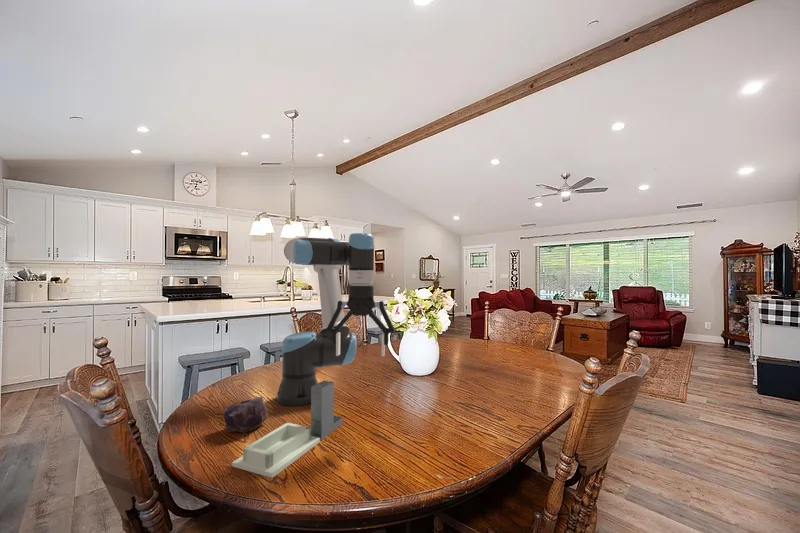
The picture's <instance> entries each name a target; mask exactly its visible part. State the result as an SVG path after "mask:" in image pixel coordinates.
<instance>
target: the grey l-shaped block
mask: <svg viewBox="0 0 800 533" xmlns="http://www.w3.org/2000/svg"><path fill="white" fill-rule="evenodd" d="M334 405H335V382H334V381H329V380H322V381H320V382H318V384H316V385H314V386H312V387H311V403H310V427H311V436H313V437H318V438H320V441H321V440H323V439H325V438H326V437H327V436H329V435H330V434H331V433H332V432H334V431H335V430H336V429H338V428H339V427H341V426H342V425H343V424H344V423H343V422H344V418H343V416H339V415H335V413H334V412H335V411H334V410H335V406H334Z"/></svg>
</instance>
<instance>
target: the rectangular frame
mask: <svg viewBox="0 0 800 533" xmlns="http://www.w3.org/2000/svg"><path fill="white" fill-rule="evenodd" d="M320 442H321V440H320V438H318V437H313V436H311V426H305V425H302V424H301V425H300V424H295V423H292V422H286V423H283V424H282V425H280V426H279V427H277V428H275V429H274V430H272V431H270V432H269V433H267V434H265V435H264V436H262V437H260V438H259V439H257V440H256V441H253V442H252V443H250V444H248V445H247V446H245V447H243V449H242V450H243V451H242V452H243V454H242V456H240V457H239V458H237V459H236V460H233V461H232V463H231V467H234V468H235V469H239V470H240V469H241V470H242V471H243V470H244V471H247V472H250V473H253V474H258V475H260V476H264V477H266V478H271V479H273V478H274V477H276V476H277V475H279V473H281V472H282V471H284V470H285V469H287V467H289V466H290V465H291V464H293V463H294V462H296V461H297V460H298V459H299V458H301V457H302V456H303V455H304V454H306V453H307V452H309V450H311V449H313V448H314V447H315V446H317V444H319V443H320Z"/></svg>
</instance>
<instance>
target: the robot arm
mask: <svg viewBox="0 0 800 533" xmlns="http://www.w3.org/2000/svg"><path fill="white" fill-rule="evenodd" d="M374 238H375V237H374V236H373V234H371V233H365V232H361V233H360V232H357V233H356V232H355V233H350V234H349V237H348V241H341V240H339V239H338V238H337V239H336V238H331V237H328V238H325V237H307V236H305V237H298V238H294V239H291V240H288V242H286V244H285V245H284V248H283V254H284V256H285V259H286V260H288V261H289V262H290V263H292V264H295V265H302V266H312V267H313V271H314V272H315V273H316V274H317V277H318V279H317V280H318V289H319V299H320V309H321V310H320V313H321V321H322V322H321V323H322V327H321V329H319V331H318V332H319V335H317V333H316V332H315V331H313V330H311V331H310V330H309V331H301V332H296V333H293V334H289V335H288V336H286V337H284V339H283V340H282V347H281V348H282V349H281V352H282V363H281V364H282V367H281V368H282V371H281V373H282V374H281V381H280V384H279V386H278V390H277V392H276V402H277V403H278V404H280V405H283V406H288V407H289V406H291V407H294V406H298V407H299V406H304V405H309V404H310V405H311V387H312V386H314V385H316V384H318V383H319V382H318V379H317V377H316V376H317V372H316V368H326V367H334V366H335V367H336V366H343V365H350V364H351V363H352V362H353V361H354V359H355V357H356V353H357V336H356V333H355V332H351V329H350V326H348V325H347V324H346V322H347V321H348V320H349V319H350V318H351V317H352V316H356V317H360V316H362V317H366V316H369V318H371V319H372V320H373V321H374V323H375V324H376V325H377V326H378V328H379V329H380V330H381V331H382V333H381V350H380V351H381V354H380V356H381V357H385V356H386V354H385V352H386V350H385V348H386V347H385V346H387V345H388V344H389V334H391V333H394V332H395V327H394V325H393V323H392V320H391V319H390V316H389V314H388V313H387V310H386V308H385V301H384V300H380V301H375V300H374V299H375V298H374V296H375V295H374V289H375V288H374V287H375V286H374V285H373V284H374V282H375V280H374V278H375V277H374V276H375V275H374V272H375V267H374V266H375V264H374V262H375V241H374V240H375V239H374ZM342 266H348V284H349V286H348V298H347V301H345V300H343V297H342V289H341V288H342V287H341V282H340V281H341V280H340V274H339V272H340V270H341V269H342ZM375 306H376V308H377V309H379V311H380V313H381V315H382V317H383V319H384V322H385V323H386V325H387V326H386V325H385V324H384V323H383V321H381V319H380V318H379V317H378V315H376V313H375V311H374V310H373V309H374V307H375ZM345 307H347V308H348V309H349V311H348V312H347V313H346V315H345V313H344V308H345Z"/></svg>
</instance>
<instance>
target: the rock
mask: <svg viewBox="0 0 800 533" xmlns="http://www.w3.org/2000/svg"><path fill="white" fill-rule="evenodd" d="M268 413H269V411H268V409H267V405H266V404H265V401H264V399H263V396H258V397H254V398H252V399H245V400H242V401H239V403H234V404H232V406H228V407H225V408H224V410H223V419H224V422H225V430H226V432H228V433H232V432H233V433H235V432H239V433H243V434H244V433H247V432H252V431H253V430H256V429H257V428H258V427H261V426H262V424H263V423H264V422H266V420H267V419H268V418H269V415H268Z"/></svg>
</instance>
